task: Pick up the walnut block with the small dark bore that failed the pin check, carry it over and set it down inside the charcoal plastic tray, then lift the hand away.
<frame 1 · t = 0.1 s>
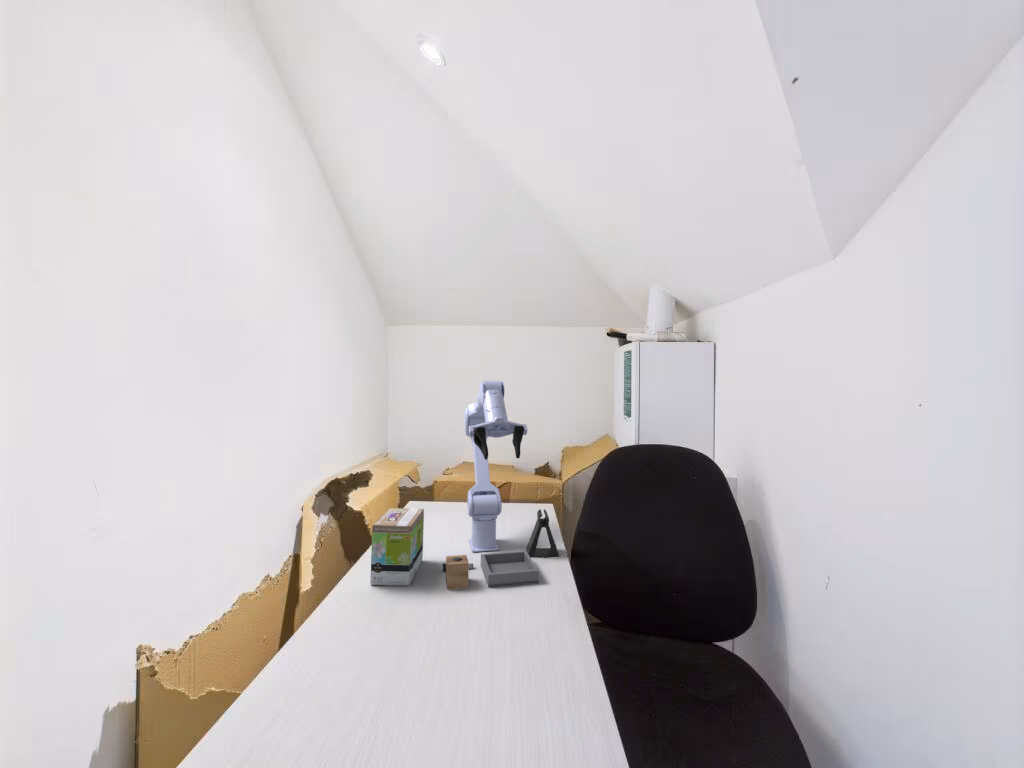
hand: (502, 456, 100), 32 cm above the table, tool tilted 50°, fingers open, 7 cm apart
phone stand: (542, 554, 122), on the table
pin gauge: (456, 569, 111), on the table
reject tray: (508, 573, 109), on the table
tea box: (398, 573, 109), on the table
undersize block: (456, 584, 103), on the table
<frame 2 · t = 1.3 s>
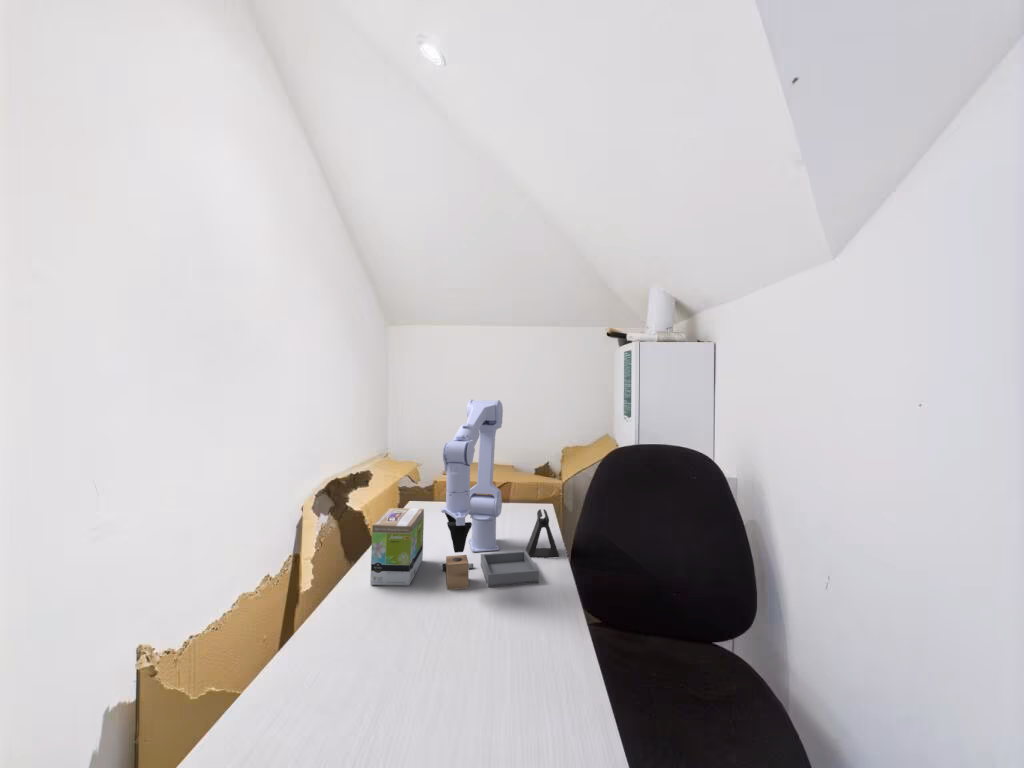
hand: (457, 545, 103), 9 cm above the table, tool pointing down, fingers open, 7 cm apart
nothing on the table moved.
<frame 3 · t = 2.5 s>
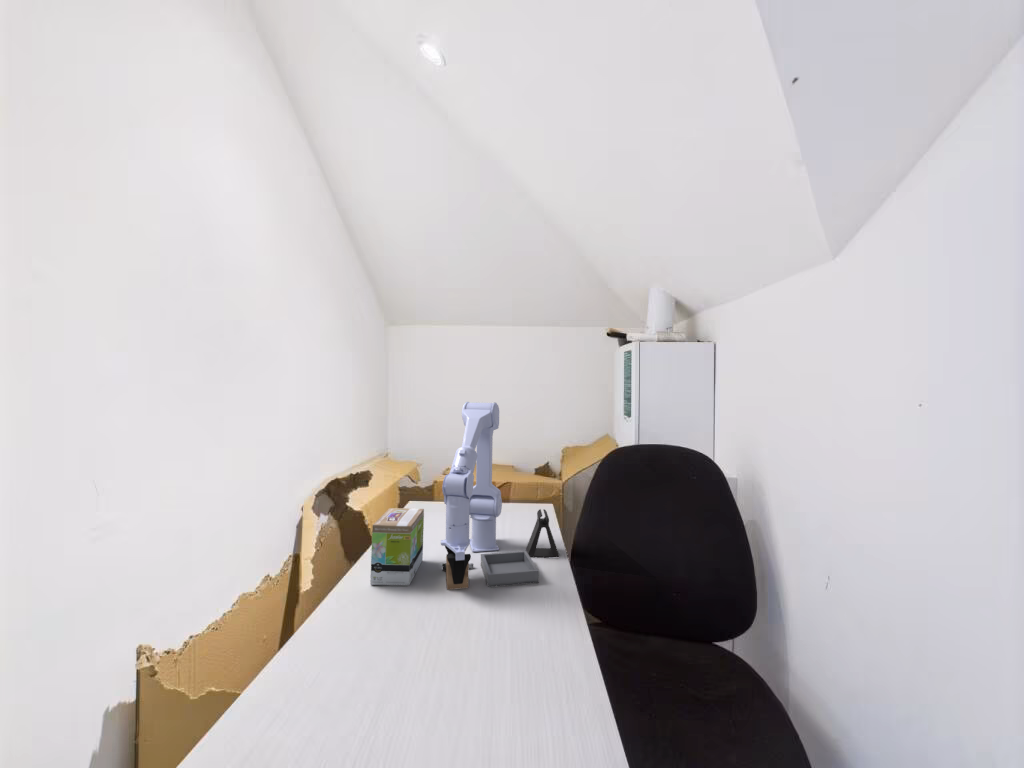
hand: (457, 578, 103), 1 cm above the table, tool pointing down, fingers closed on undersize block, 5 cm apart
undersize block: (456, 583, 103), on the table, touching gripper
everything else where it was.
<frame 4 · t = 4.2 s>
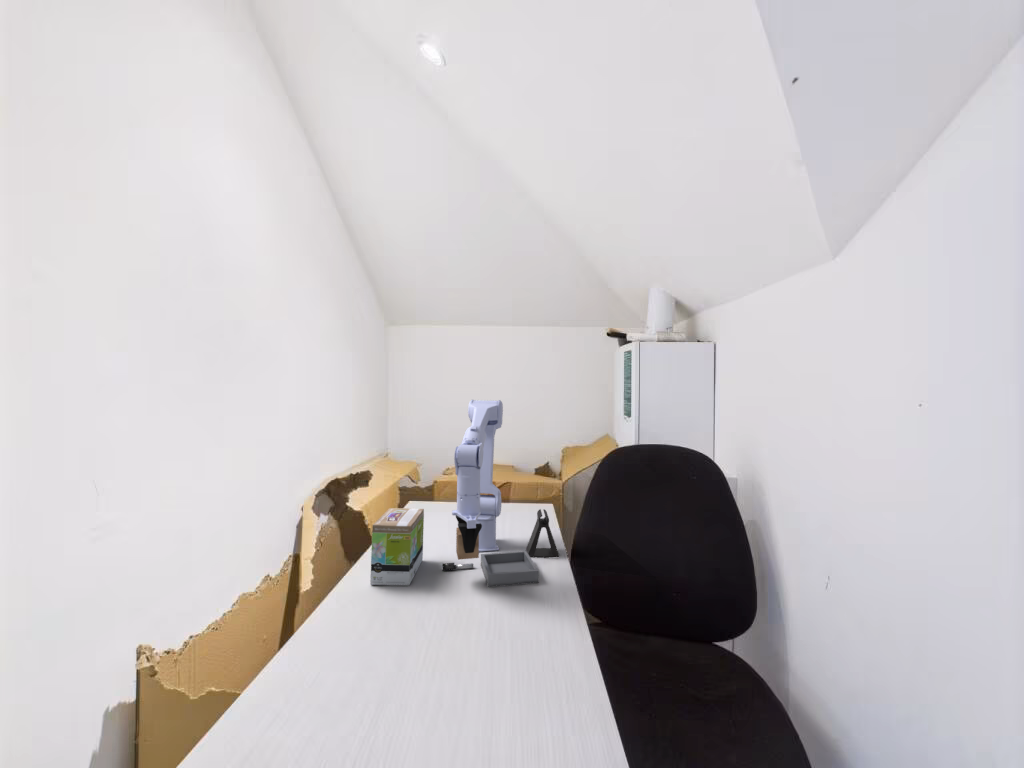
hand: (467, 547, 104), 8 cm above the table, tool pointing down, fingers closed on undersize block, 5 cm apart
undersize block: (467, 554, 104), point 7 cm above the table, touching gripper
everything else where it was.
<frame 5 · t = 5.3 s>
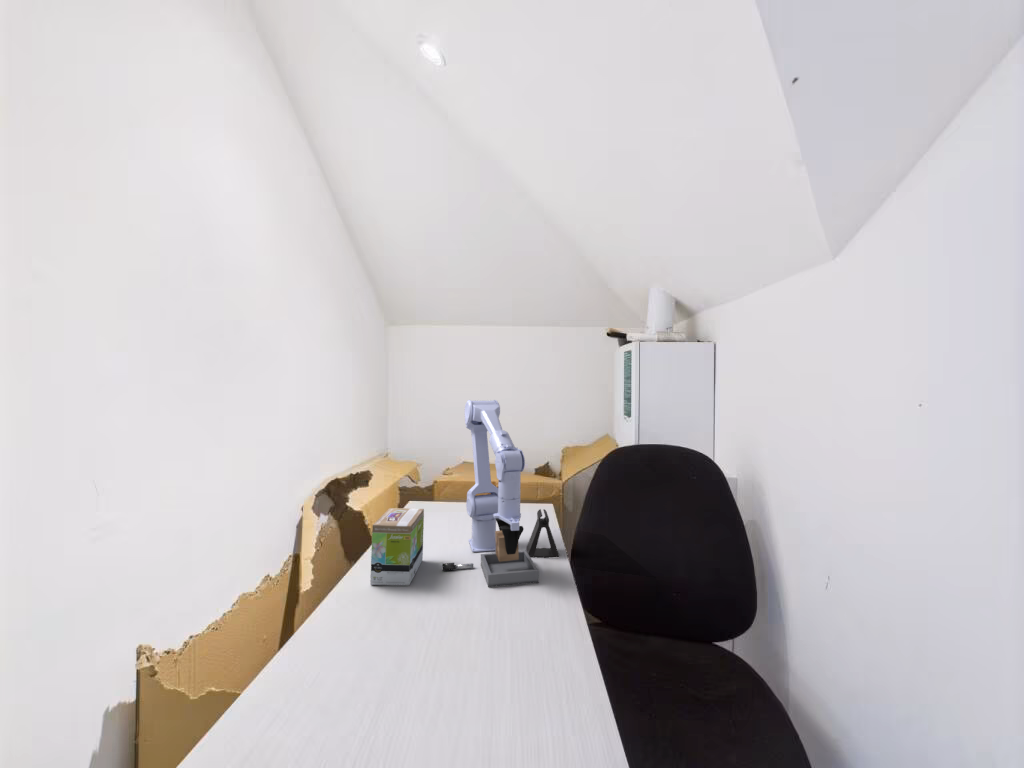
hand: (508, 549, 109), 6 cm above the table, tool pointing down, fingers closed on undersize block, 5 cm apart
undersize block: (507, 556, 109), point 4 cm above the table, touching gripper
everything else where it was.
when the fingers open (4 cm above the table, at t = 6.2 s): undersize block drops 1 cm, resting on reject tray.
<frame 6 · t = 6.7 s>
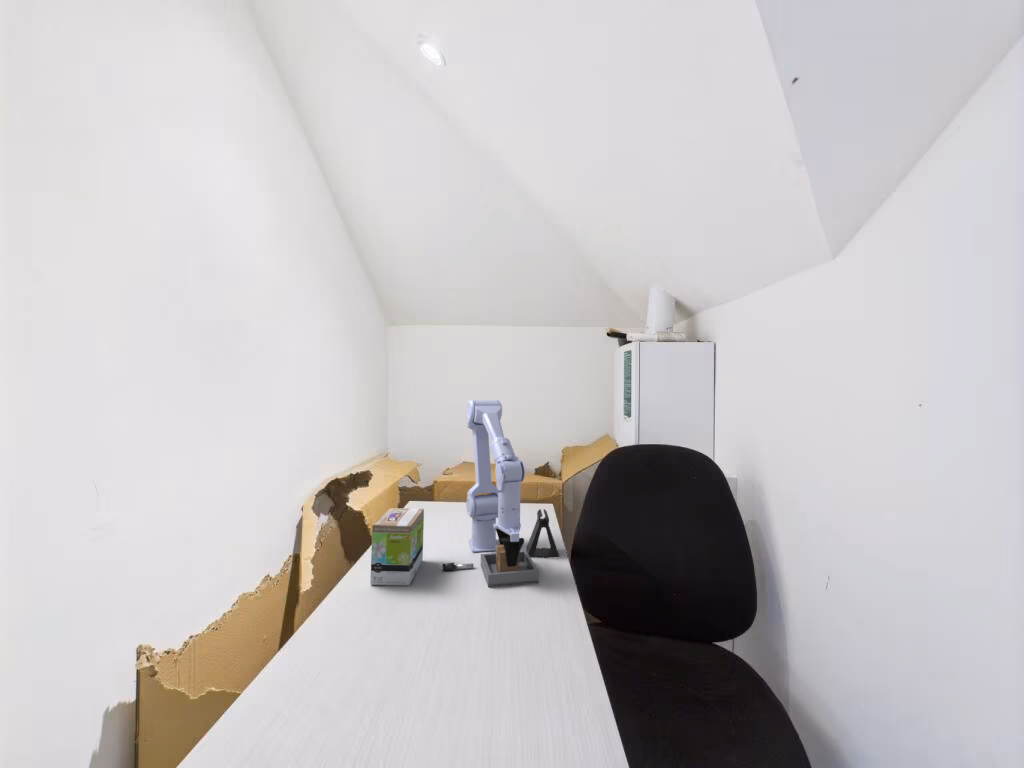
hand: (508, 559, 109), 4 cm above the table, tool pointing down, fingers open, 7 cm apart
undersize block: (507, 571, 109), point 1 cm above the table, touching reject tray
everything else where it was.
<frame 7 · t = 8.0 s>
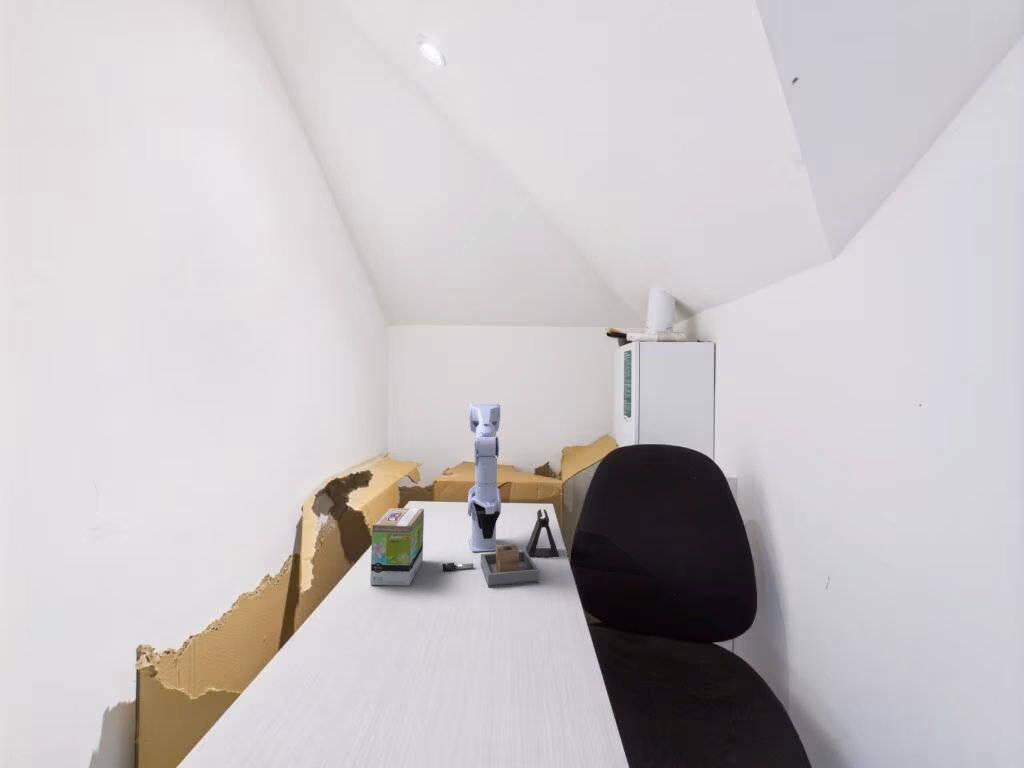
hand: (485, 533, 112), 9 cm above the table, tool pointing down, fingers open, 7 cm apart
nothing on the table moved.
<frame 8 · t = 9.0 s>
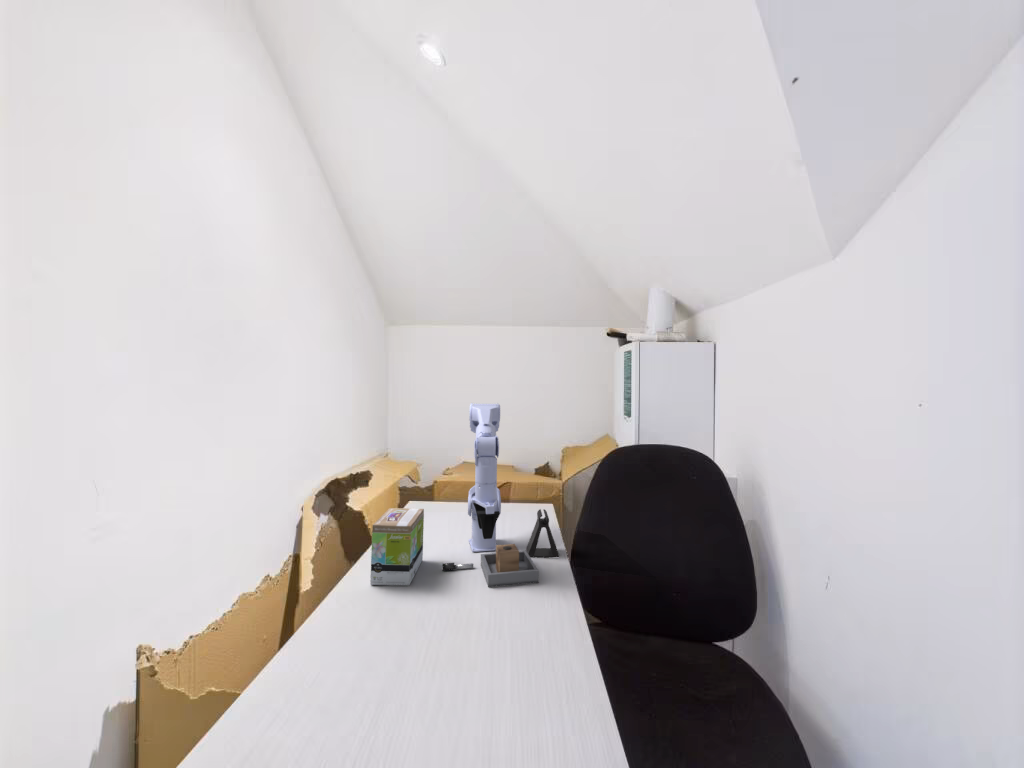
hand: (485, 533, 112), 9 cm above the table, tool pointing down, fingers open, 7 cm apart
nothing on the table moved.
at the end: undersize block inside the target area on the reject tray (0.3 cm from its centre), point 0.6 cm above the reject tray's base; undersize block tilted 0°; the gripper is holding nothing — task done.
